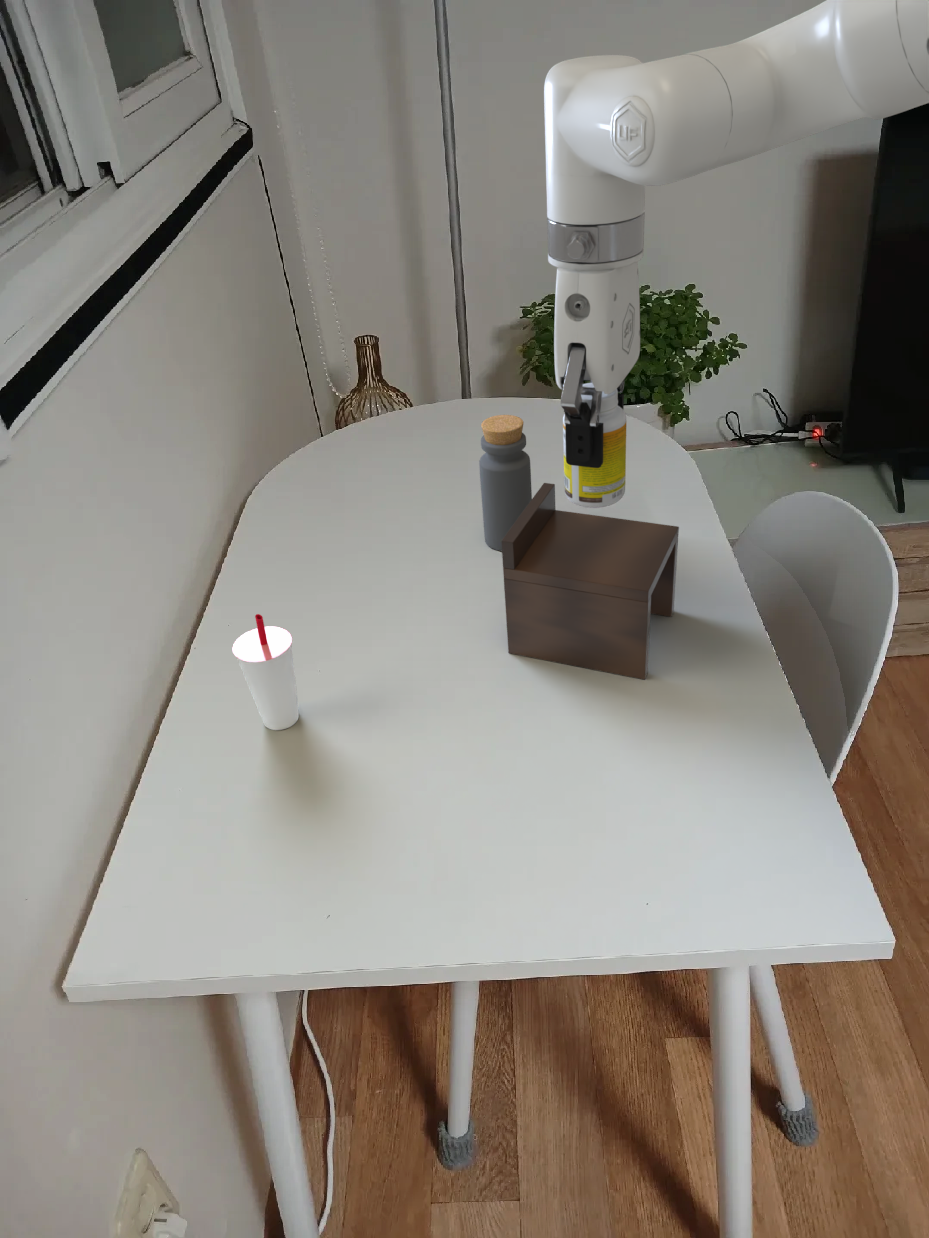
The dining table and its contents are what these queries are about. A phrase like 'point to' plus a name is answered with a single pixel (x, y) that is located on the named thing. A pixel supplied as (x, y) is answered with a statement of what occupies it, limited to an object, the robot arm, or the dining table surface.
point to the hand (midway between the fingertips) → (595, 447)
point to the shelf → (586, 586)
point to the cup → (269, 673)
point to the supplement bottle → (609, 479)
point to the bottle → (503, 476)
